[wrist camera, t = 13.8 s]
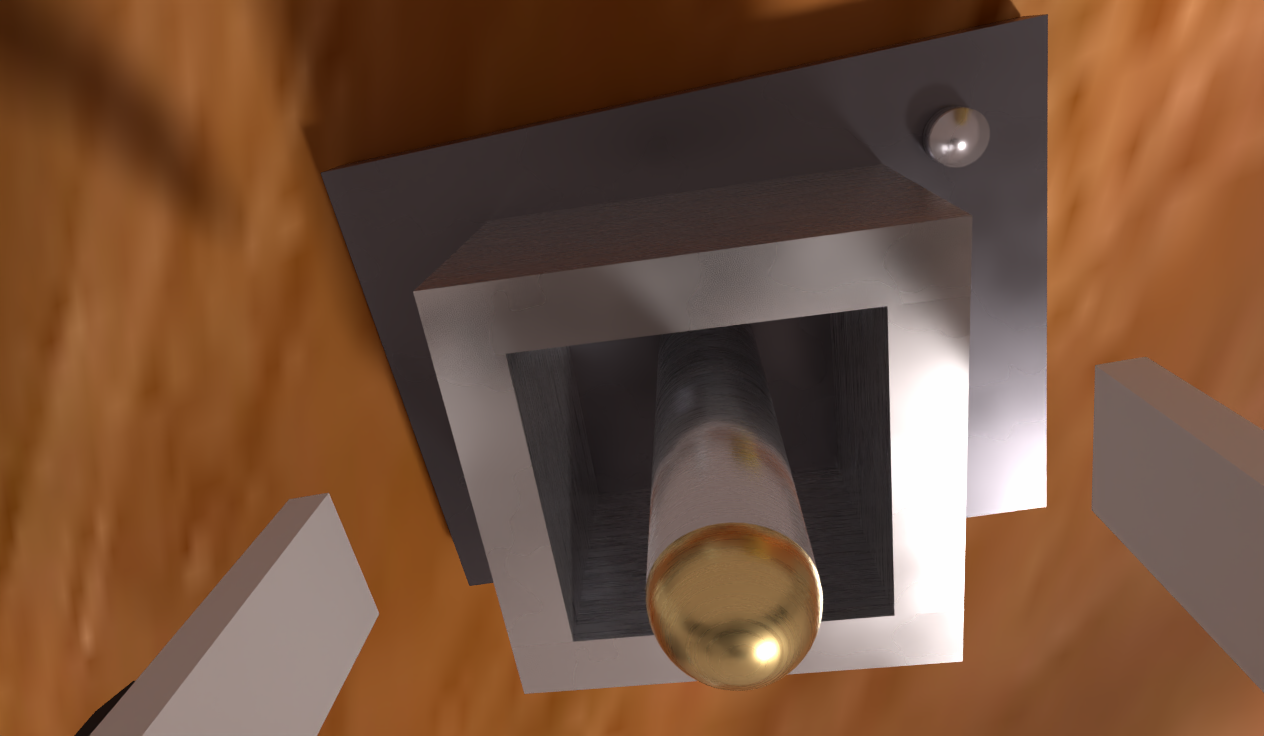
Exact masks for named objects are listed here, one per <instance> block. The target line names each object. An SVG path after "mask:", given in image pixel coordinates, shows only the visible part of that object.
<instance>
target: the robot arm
mask: <svg viewBox="0 0 1264 736" xmlns="http://www.w3.org/2000/svg"><path fill="white" fill-rule="evenodd" d="M1092 511H1093V512H1094V513H1095V514H1096V515H1097V516H1098V517H1099V518H1100V519H1101V520H1102V521H1103V522H1104V523H1105V525H1106V526H1107V527H1108V528H1109V529H1110V530H1111V531H1112V532H1113V533H1114V534H1115V535H1116V536H1117V537H1118V538H1119V539H1120V540H1121V542H1122V543H1123V544H1124V545H1125V546H1126V547H1127V548H1128V549H1129V550H1130V551H1131V552H1132V553H1133V554H1134V555H1135V556H1136V557H1137V559H1138V560H1139V561H1140V562H1141V563H1142V564H1143V565H1144V566H1145V567H1146V568H1147V569H1148V570H1149V571H1150V572H1151V573H1152V574H1153V576H1154V577H1155V578H1156V579H1157V580H1158V581H1159V582H1160V583H1161V584H1162V585H1163V586H1164V587H1165V588H1166V589H1167V590H1168V591H1169V593H1170V594H1171V595H1172V596H1173V597H1174V598H1175V599H1176V600H1177V601H1178V602H1179V603H1180V604H1181V605H1182V606H1183V607H1184V608H1185V610H1186V611H1187V612H1188V613H1189V614H1190V615H1191V616H1192V617H1193V618H1194V619H1195V620H1196V621H1197V622H1198V623H1199V624H1200V625H1201V626H1202V628H1203V629H1204V630H1205V631H1206V632H1207V633H1208V634H1209V635H1210V636H1211V637H1212V638H1213V639H1214V640H1215V641H1216V642H1217V643H1218V645H1219V646H1220V647H1221V648H1222V649H1223V650H1224V651H1225V652H1226V653H1227V654H1228V655H1229V656H1230V657H1231V658H1232V659H1233V660H1234V662H1235V663H1236V664H1237V665H1238V666H1239V667H1240V668H1241V669H1242V670H1243V671H1244V672H1245V673H1246V674H1247V675H1248V676H1249V677H1250V679H1251V680H1252V681H1253V682H1254V683H1255V684H1256V685H1257V686H1258V687H1259V688H1260V689H1261V690H1262V691H1263V692H1264V430H1262V429H1261V428H1259V427H1258V426H1256V425H1254V424H1253V423H1251V422H1250V421H1248V420H1246V419H1245V418H1243V417H1242V416H1240V415H1238V414H1237V413H1235V412H1234V411H1232V410H1230V409H1229V408H1227V407H1226V406H1224V405H1222V404H1221V403H1219V402H1218V401H1216V400H1214V399H1213V398H1211V397H1210V396H1208V395H1206V394H1205V393H1203V392H1202V391H1200V390H1198V389H1197V388H1195V387H1194V386H1192V385H1190V384H1189V383H1187V382H1186V381H1184V380H1182V379H1181V378H1179V377H1178V376H1176V375H1174V374H1173V373H1171V372H1170V371H1168V370H1166V369H1165V368H1163V367H1162V366H1160V365H1158V364H1157V363H1155V362H1154V361H1152V360H1150V359H1149V358H1147V357H1142V358H1136V359H1130V360H1124V361H1118V362H1112V363H1106V364H1100V365H1095V398H1094V439H1093V480H1092ZM378 615H379V612H378V610H377V607H376V605H375V603H374V600H373V598H372V595H371V593H370V591H369V588H368V586H367V583H366V581H365V579H364V576H363V574H362V571H361V569H360V567H359V564H358V562H357V559H356V557H355V555H354V552H353V550H352V547H351V545H350V543H349V540H348V538H347V535H346V533H345V531H344V528H343V526H342V523H341V521H340V519H339V516H338V514H337V511H336V509H335V507H334V504H333V502H332V499H331V497H330V495H329V493H325V494H319V495H313V496H307V497H301V498H295V499H289V500H288V502H287V503H286V504H285V505H284V506H283V507H282V509H281V510H280V511H279V512H278V513H277V515H276V516H275V517H274V518H273V519H272V520H271V522H270V523H269V524H268V525H267V526H266V528H265V529H264V530H263V531H262V532H261V533H260V535H259V536H258V537H257V538H256V539H255V541H254V542H253V543H252V544H251V545H250V546H249V548H248V549H247V550H246V551H245V552H244V554H243V555H242V556H241V557H240V558H239V559H238V561H237V562H236V563H235V564H234V565H233V567H232V568H231V569H230V570H229V571H228V572H227V574H226V575H225V576H224V577H223V578H222V580H221V581H220V582H219V583H218V584H217V585H216V587H215V588H214V589H213V590H212V591H211V593H210V594H209V595H208V596H207V597H206V598H205V600H204V601H203V602H202V603H201V604H200V606H199V607H198V608H197V609H196V610H195V611H194V613H193V614H192V615H191V616H190V617H189V619H188V620H187V621H186V622H185V623H184V624H183V626H182V627H181V628H180V629H179V630H178V632H177V633H176V634H175V635H174V636H173V637H172V639H171V640H170V641H169V642H168V643H167V645H166V646H165V647H164V648H163V649H162V650H161V652H160V653H159V654H158V655H157V656H156V658H155V659H154V660H153V661H152V662H151V663H150V665H149V666H148V667H147V668H146V669H145V671H144V672H143V673H142V674H141V675H140V676H139V678H138V679H137V680H136V681H133V682H131V683H130V684H129V685H128V686H126V687H125V688H124V689H123V690H121V691H120V692H119V693H118V694H117V695H115V696H114V697H113V698H112V699H110V700H109V701H108V702H107V703H105V704H104V705H103V706H102V707H100V708H99V709H98V710H97V711H95V713H94V714H93V715H92V716H91V717H90V718H89V720H88V721H87V722H86V723H85V724H84V725H83V726H82V728H81V729H80V730H79V731H78V732H77V733H76V735H75V736H317V734H318V732H319V730H320V728H321V726H322V725H323V723H324V721H325V719H326V717H327V715H328V713H329V711H330V709H331V707H332V705H333V703H334V701H335V699H336V697H337V695H338V693H339V691H340V689H341V687H342V685H343V683H344V682H345V680H346V678H347V676H348V674H349V672H350V670H351V668H352V666H353V664H354V662H355V660H356V658H357V656H358V654H359V652H360V650H361V648H362V646H363V644H364V642H365V640H366V638H367V637H368V635H369V633H370V631H371V629H372V627H373V625H374V623H375V621H376V619H377V617H378Z"/></svg>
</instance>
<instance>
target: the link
mask: <svg viewBox="0 0 1264 736" xmlns="http://www.w3.org/2000/svg"><path fill="white" fill-rule="evenodd" d="M971 256H972V215H971V214H969V213H967V212H965V211H964V210H962V209H960V208H958V207H957V206H955V205H953V204H951V203H950V202H948V201H946V200H945V199H943V198H941V197H939V196H938V195H936V194H934V193H932V192H931V191H929V190H927V189H925V188H924V187H922V186H920V185H919V184H917V183H915V182H913V181H912V180H910V179H908V178H906V177H905V176H903V175H901V174H899V173H898V172H896V171H894V170H892V169H891V168H889V167H887V166H886V165H884V164H876V165H869V166H862V167H855V168H848V169H841V170H834V171H828V172H821V173H814V174H807V175H800V176H793V177H786V178H779V179H772V180H765V181H759V182H752V183H745V184H738V185H731V186H724V187H717V188H710V189H703V190H696V191H689V192H683V193H676V194H669V195H662V196H655V197H648V198H641V199H634V200H627V201H620V202H614V203H607V204H600V205H593V206H586V207H579V208H572V209H565V210H558V211H551V212H544V213H538V214H531V215H524V216H517V217H510V218H503V219H496V220H489V221H487V222H486V223H485V224H484V225H483V226H482V227H481V228H480V229H479V230H478V231H477V232H476V233H475V234H474V235H473V236H472V237H470V238H469V239H468V240H467V241H466V242H465V243H464V244H463V245H462V246H461V247H460V248H459V249H458V250H457V251H456V252H455V253H453V254H452V255H451V256H450V257H449V258H448V259H447V260H446V261H445V262H444V263H443V264H442V265H441V266H440V267H439V268H438V269H436V270H435V271H434V272H433V273H432V274H431V275H430V276H429V277H428V278H427V279H426V280H425V281H424V282H423V283H422V284H421V285H419V286H418V287H417V288H416V289H415V290H414V291H413V293H414V296H415V300H416V304H417V307H418V311H419V315H420V318H421V322H422V325H423V329H424V333H425V336H426V340H427V343H428V347H429V351H430V354H431V358H432V361H433V365H434V369H435V372H436V376H437V380H438V383H439V387H440V390H441V394H442V398H443V401H444V405H445V408H446V412H447V416H448V419H449V423H450V426H451V430H452V434H453V437H454V441H455V444H456V448H457V452H458V455H459V459H460V463H461V466H462V470H463V473H464V477H465V481H466V484H467V488H468V491H469V495H470V499H471V502H472V506H473V509H474V513H475V517H476V520H477V524H478V528H479V531H480V535H481V538H482V542H483V546H484V549H485V553H486V556H487V560H488V564H489V567H490V571H491V574H492V578H493V582H494V585H495V589H496V592H497V596H498V600H499V603H500V607H501V611H502V614H503V618H504V621H505V625H506V629H507V632H508V636H509V639H510V643H511V647H512V650H513V654H514V657H515V661H516V665H517V668H518V672H519V676H520V679H521V683H522V686H523V690H524V694H527V693H541V692H555V691H568V690H582V689H595V688H609V687H622V686H636V685H649V684H663V683H676V682H690V681H697V680H695V679H693V678H691V677H690V676H688V675H687V674H685V673H684V672H683V671H682V670H680V669H679V668H678V667H677V666H676V665H675V664H674V663H673V662H672V661H671V660H670V659H669V658H668V657H667V655H666V654H665V652H664V651H663V650H662V648H661V647H660V646H659V644H658V642H657V640H656V638H655V636H654V634H653V631H652V629H651V626H650V623H649V619H648V615H647V609H646V572H647V554H648V536H649V518H650V500H651V489H642V490H632V491H622V492H613V493H603V494H599V493H598V488H597V483H596V478H595V473H594V468H593V463H592V458H591V453H590V448H589V443H588V438H587V433H586V428H585V423H584V418H583V413H582V408H581V403H580V398H579V393H578V388H577V383H576V378H575V373H574V368H573V363H572V358H571V353H570V348H569V346H571V345H579V344H587V343H595V342H603V341H611V340H619V339H627V338H635V337H643V336H651V335H659V334H667V333H675V332H683V331H691V330H700V329H708V328H716V327H724V326H732V325H740V324H748V323H756V322H764V321H772V320H780V319H788V318H796V317H804V316H812V315H820V314H828V313H830V320H831V339H832V358H833V376H834V395H835V413H836V432H837V450H838V469H837V470H827V471H818V472H808V473H798V474H792V477H793V481H794V484H795V488H796V492H797V496H798V499H799V503H800V507H801V510H802V514H803V518H804V521H805V525H806V529H807V533H808V536H809V540H810V544H811V547H812V551H813V555H814V558H815V562H816V566H817V570H818V573H819V577H820V582H821V587H822V595H823V610H822V619H821V623H820V627H819V630H818V634H817V636H816V638H815V641H814V643H813V645H812V647H811V649H810V650H809V652H808V653H807V655H806V656H805V658H804V659H803V660H802V661H801V662H800V663H799V664H798V666H797V667H796V668H795V669H793V670H792V671H791V672H790V673H789V674H798V673H812V672H825V671H839V670H852V669H866V668H879V667H893V666H906V665H920V664H933V663H947V662H960V661H963V618H964V572H965V527H966V482H967V437H968V391H969V346H970V301H971Z"/></svg>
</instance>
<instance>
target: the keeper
mask: <svg viewBox="0 0 1264 736" xmlns="http://www.w3.org/2000/svg"><path fill="white" fill-rule="evenodd" d="M1047 78H1048V14H1046V15H1033V16H1022V17H1018V18H1013V19H1008V20H1004V21H999V22H995V23H990V24H985V25H981V26H976V27H972V28H967V29H963V30H958V31H953V32H949V33H944V34H940V35H935V36H931V37H926V38H921V39H917V40H912V41H908V42H903V43H899V44H894V45H889V46H885V47H880V48H876V49H871V50H867V51H862V52H857V53H853V54H848V55H844V56H839V57H834V58H830V59H825V60H821V61H816V62H812V63H807V64H802V65H798V66H793V67H789V68H784V69H780V70H775V71H770V72H766V73H761V74H757V75H752V76H748V77H743V78H738V79H734V80H729V81H725V82H720V83H716V84H711V85H706V86H702V87H697V88H693V89H688V90H684V91H679V92H674V93H670V94H665V95H661V96H656V97H651V98H647V99H642V100H638V101H633V102H629V103H624V104H619V105H615V106H610V107H606V108H601V109H597V110H592V111H587V112H583V113H578V114H574V115H569V116H565V117H560V118H555V119H551V120H546V121H542V122H537V123H533V124H528V125H523V126H519V127H514V128H510V129H505V130H501V131H496V132H491V133H487V134H482V135H478V136H473V137H468V138H464V139H459V140H455V141H450V142H446V143H441V144H436V145H432V146H427V147H423V148H418V149H414V150H409V151H404V152H400V153H395V154H391V155H386V156H382V157H377V158H372V159H368V160H363V161H359V162H354V163H350V164H345V165H341V166H338V167H335V168H333V169H330V170H327V171H324V172H322V173H321V176H322V178H323V181H324V184H325V187H326V189H327V192H328V195H329V198H330V200H331V203H332V206H333V209H334V212H335V214H336V217H337V220H338V223H339V225H340V228H341V231H342V234H343V237H344V239H345V242H346V245H347V248H348V250H349V253H350V256H351V259H352V261H353V264H354V267H355V270H356V273H357V275H358V278H359V281H360V284H361V286H362V289H363V292H364V295H365V298H366V300H367V303H368V306H369V309H370V311H371V314H372V317H373V320H374V322H375V325H376V328H377V331H378V334H379V336H380V339H381V342H382V345H383V347H384V350H385V353H386V356H387V359H388V361H389V364H390V367H391V370H392V372H393V375H394V378H395V381H396V383H397V386H398V389H399V392H400V395H401V397H402V400H403V403H404V406H405V408H406V411H407V414H408V417H409V420H410V422H411V425H412V428H413V431H414V433H415V436H416V439H417V442H418V444H419V447H420V450H421V453H422V456H423V458H424V461H425V464H426V467H427V469H428V472H429V475H430V478H431V481H432V483H433V486H434V489H435V492H436V494H437V497H438V500H439V503H440V505H441V508H442V511H443V514H444V517H445V519H446V522H447V525H448V528H449V530H450V533H451V536H452V539H453V542H454V544H455V547H456V550H457V553H458V555H459V558H460V561H461V564H462V566H463V569H464V572H465V575H466V578H467V580H468V583H469V586H472V585H480V584H487V583H494V582H493V578H492V574H491V571H490V567H489V564H488V560H487V556H486V553H485V549H484V546H483V542H482V538H481V535H480V531H479V528H478V524H477V520H476V517H475V513H474V509H473V506H472V502H471V499H470V495H469V491H468V488H467V484H466V481H465V477H464V473H463V470H462V466H461V463H460V459H459V455H458V452H457V448H456V444H455V441H454V437H453V434H452V430H451V426H450V423H449V419H448V416H447V412H446V408H445V405H444V401H443V398H442V394H441V390H440V387H439V383H438V380H437V376H436V372H435V369H434V365H433V361H432V358H431V354H430V351H429V347H428V343H427V340H426V336H425V333H424V329H423V325H422V322H421V318H420V315H419V311H418V307H417V304H416V300H415V296H414V293H413V291H414V290H415V289H416V288H417V287H418V286H419V285H421V284H422V283H423V282H424V281H425V280H426V279H427V278H428V277H429V276H430V275H431V274H432V273H433V272H434V271H435V270H436V269H438V268H439V267H440V266H441V265H442V264H443V263H444V262H445V261H446V260H447V259H448V258H449V257H450V256H451V255H452V254H453V253H455V252H456V251H457V250H458V249H459V248H460V247H461V246H462V245H463V244H464V243H465V242H466V241H467V240H468V239H469V238H470V237H472V236H473V235H474V234H475V233H476V232H477V231H478V230H479V229H480V228H481V227H482V226H483V225H484V224H485V223H486V222H487V221H489V220H496V219H503V218H510V217H517V216H524V215H531V214H538V213H544V212H551V211H558V210H565V209H572V208H579V207H586V206H593V205H600V204H607V203H614V202H620V201H627V200H634V199H641V198H648V197H655V196H662V195H669V194H676V193H683V192H689V191H696V190H703V189H710V188H717V187H724V186H731V185H738V184H745V183H752V182H759V181H765V180H772V179H779V178H786V177H793V176H800V175H807V174H814V173H821V172H828V171H834V170H841V169H848V168H855V167H862V166H869V165H876V164H884V165H886V166H887V167H889V168H891V169H892V170H894V171H896V172H898V173H899V174H901V175H903V176H905V177H906V178H908V179H910V180H912V181H913V182H915V183H917V184H919V185H920V186H922V187H924V188H925V189H927V190H929V191H931V192H932V193H934V194H936V195H938V196H939V197H941V198H943V199H945V200H946V201H948V202H950V203H951V204H953V205H955V206H957V207H958V208H960V209H962V210H964V211H965V212H967V213H969V214H971V215H972V256H971V301H970V346H969V391H968V437H967V482H966V518H967V517H974V516H981V515H988V514H996V513H1003V512H1010V511H1018V510H1025V509H1032V508H1039V507H1046V399H1047ZM569 348H570V353H571V358H572V363H573V368H574V373H575V378H576V383H577V388H578V393H579V398H580V403H581V408H582V413H583V418H584V423H585V428H586V433H587V438H588V443H589V448H590V453H591V458H592V463H593V468H594V473H595V478H596V483H597V488H598V493H599V494H603V493H613V492H622V491H632V490H642V489H651V500H650V518H649V536H648V554H647V572H646V609H647V615H648V619H649V623H650V626H651V629H652V631H653V634H654V636H655V638H656V640H657V642H658V644H659V646H660V647H661V648H662V650H663V651H664V652H665V654H666V655H667V657H668V658H669V659H670V660H671V661H672V662H673V663H674V664H675V665H676V666H677V667H678V668H679V669H680V670H682V671H683V672H684V673H685V674H687V675H688V676H690V677H691V678H693V679H695V680H697V681H699V682H701V683H703V684H705V685H708V686H711V687H714V688H718V689H723V690H730V691H743V690H752V689H757V688H761V687H764V686H767V685H770V684H772V683H774V682H776V681H778V680H780V679H781V678H783V677H784V676H786V675H787V674H789V673H790V672H791V671H792V670H793V669H795V668H796V667H797V666H798V664H799V663H800V662H801V661H802V660H803V659H804V658H805V656H806V655H807V653H808V652H809V650H810V649H811V647H812V645H813V643H814V641H815V638H816V636H817V634H818V630H819V627H820V623H821V619H822V610H823V595H822V587H821V582H820V577H819V573H818V570H817V566H816V562H815V558H814V555H813V551H812V547H811V544H810V540H809V536H808V533H807V529H806V525H805V521H804V518H803V514H802V510H801V507H800V503H799V499H798V496H797V492H796V488H795V484H794V481H793V477H792V474H798V473H808V472H818V471H827V470H837V469H838V450H837V432H836V413H835V395H834V376H833V358H832V339H831V320H830V313H828V314H820V315H812V316H804V317H796V318H788V319H780V320H772V321H764V322H756V323H748V324H740V325H732V326H724V327H716V328H708V329H700V330H691V331H683V332H675V333H667V334H659V335H651V336H643V337H635V338H627V339H619V340H611V341H603V342H595V343H587V344H579V345H571V346H569Z"/></svg>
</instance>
